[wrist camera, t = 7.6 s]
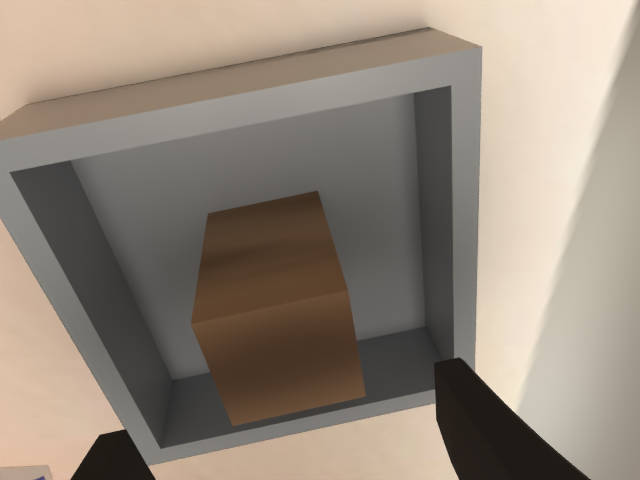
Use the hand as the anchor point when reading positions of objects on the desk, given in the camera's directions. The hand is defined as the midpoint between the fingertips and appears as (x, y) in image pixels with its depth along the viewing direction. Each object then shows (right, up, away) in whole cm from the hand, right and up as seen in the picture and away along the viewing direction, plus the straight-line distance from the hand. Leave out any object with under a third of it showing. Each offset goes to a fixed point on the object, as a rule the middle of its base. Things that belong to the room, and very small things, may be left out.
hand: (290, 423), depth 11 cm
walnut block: (-1, +4, +7) cm, 8 cm away
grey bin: (-1, +4, +7) cm, 9 cm away
